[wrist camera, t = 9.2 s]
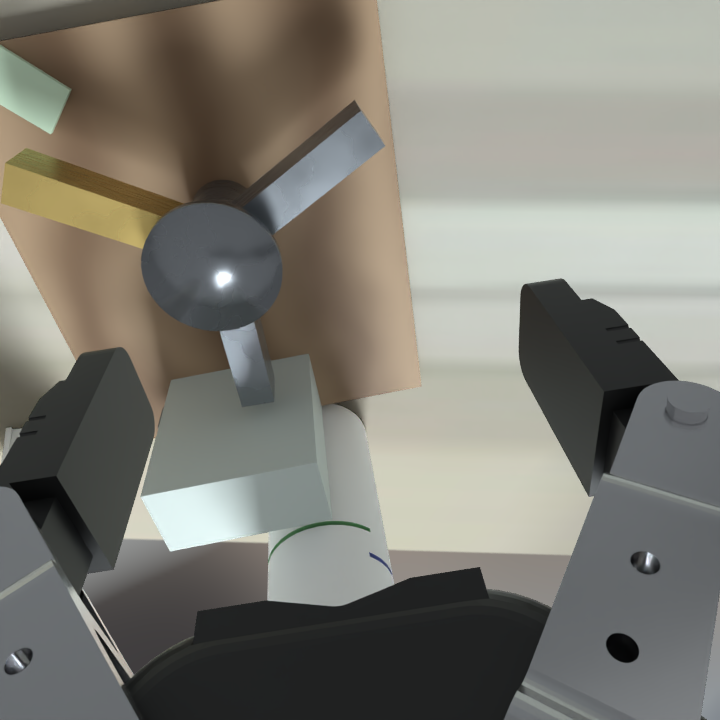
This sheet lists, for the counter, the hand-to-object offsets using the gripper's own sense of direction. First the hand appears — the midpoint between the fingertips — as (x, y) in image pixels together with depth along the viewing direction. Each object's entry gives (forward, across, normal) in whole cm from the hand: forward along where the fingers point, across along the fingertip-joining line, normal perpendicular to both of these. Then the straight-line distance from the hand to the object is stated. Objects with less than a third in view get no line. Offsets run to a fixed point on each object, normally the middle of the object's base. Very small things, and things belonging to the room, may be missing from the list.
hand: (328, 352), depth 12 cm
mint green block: (+21, +13, -3) cm, 25 cm away
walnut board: (+22, +6, +6) cm, 24 cm away
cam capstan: (+21, +7, +3) cm, 22 cm away
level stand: (+21, +7, +16) cm, 28 cm away
